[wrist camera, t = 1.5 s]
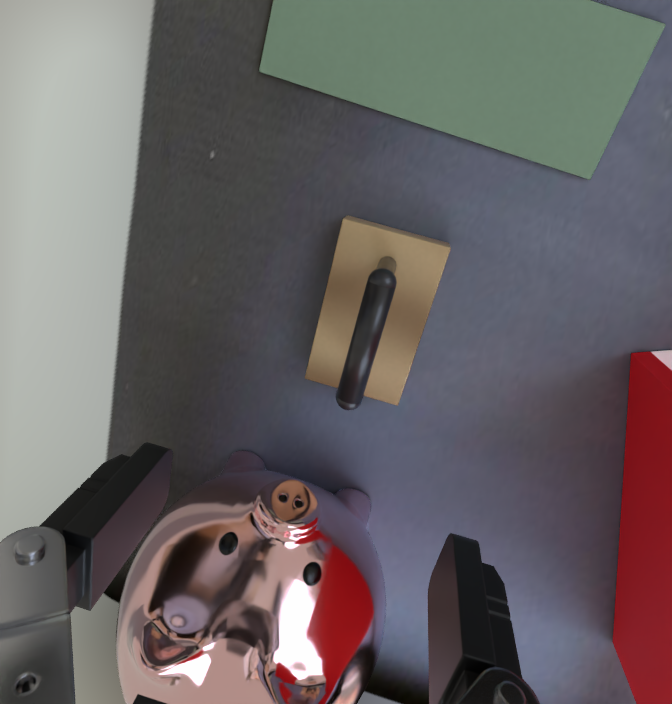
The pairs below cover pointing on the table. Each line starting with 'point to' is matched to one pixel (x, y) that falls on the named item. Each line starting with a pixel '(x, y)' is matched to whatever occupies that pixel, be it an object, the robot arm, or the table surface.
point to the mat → (474, 67)
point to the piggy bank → (253, 595)
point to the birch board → (374, 310)
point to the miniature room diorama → (646, 533)
